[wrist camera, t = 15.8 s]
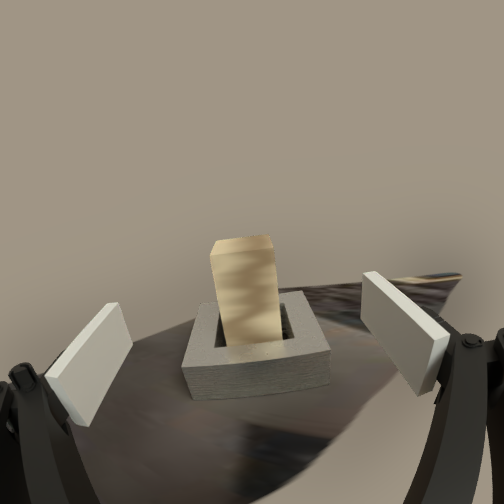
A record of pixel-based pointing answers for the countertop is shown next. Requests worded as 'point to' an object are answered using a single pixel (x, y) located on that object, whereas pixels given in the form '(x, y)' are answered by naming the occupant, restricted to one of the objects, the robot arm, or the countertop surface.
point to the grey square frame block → (257, 355)
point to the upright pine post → (247, 289)
